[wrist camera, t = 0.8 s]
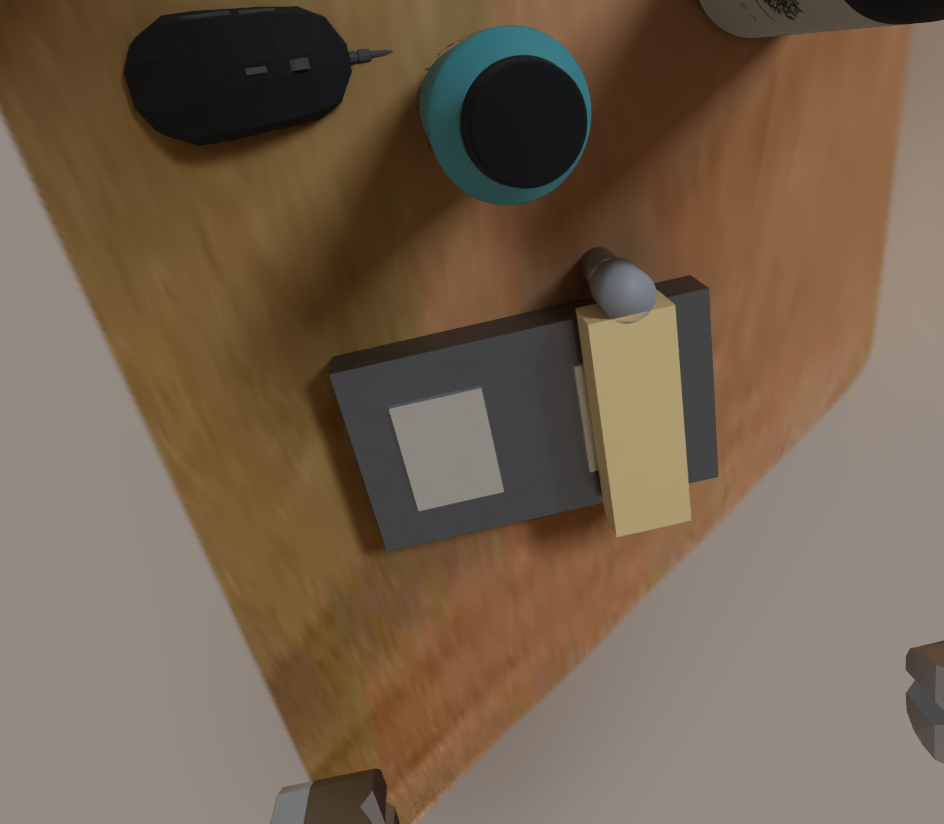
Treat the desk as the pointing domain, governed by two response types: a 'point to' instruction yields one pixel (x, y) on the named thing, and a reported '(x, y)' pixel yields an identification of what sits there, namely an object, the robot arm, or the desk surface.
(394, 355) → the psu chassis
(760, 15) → the travel mug
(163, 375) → the desk surface
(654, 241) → the desk surface
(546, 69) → the beverage bottle
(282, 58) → the gaming mouse
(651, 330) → the beige block
